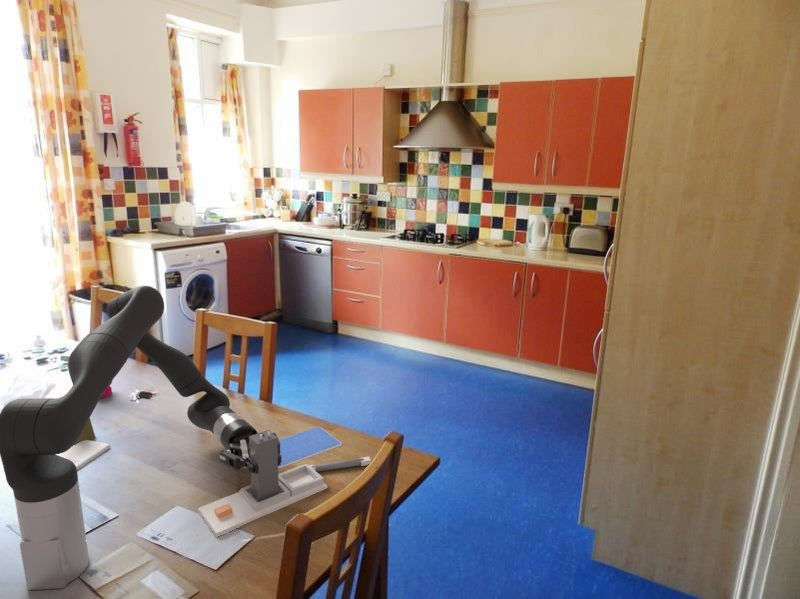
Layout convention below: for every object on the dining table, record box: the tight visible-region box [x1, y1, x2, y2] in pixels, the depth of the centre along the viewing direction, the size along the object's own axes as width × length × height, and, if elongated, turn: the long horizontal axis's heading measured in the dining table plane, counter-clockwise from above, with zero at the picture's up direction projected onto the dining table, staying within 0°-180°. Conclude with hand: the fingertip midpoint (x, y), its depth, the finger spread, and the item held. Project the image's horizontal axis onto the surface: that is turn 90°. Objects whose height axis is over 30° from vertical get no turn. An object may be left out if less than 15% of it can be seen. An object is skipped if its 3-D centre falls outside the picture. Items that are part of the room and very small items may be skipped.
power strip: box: [197, 462, 328, 538], centre depth 115 cm, size 26×10×2 cm, turn 131°
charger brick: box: [249, 429, 279, 502], centre depth 113 cm, size 4×5×15 cm
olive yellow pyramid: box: [72, 417, 96, 447], centre depth 136 cm, size 6×6×11 cm
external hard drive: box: [57, 440, 111, 471], centre depth 129 cm, size 2×8×12 cm
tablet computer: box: [278, 426, 343, 469], centre depth 138 cm, size 19×13×1 cm, turn 129°
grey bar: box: [305, 456, 372, 473], centre depth 128 cm, size 16×2×2 cm, turn 107°
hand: (268, 465), depth 112 cm, fingers closed on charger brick, 4 cm apart
